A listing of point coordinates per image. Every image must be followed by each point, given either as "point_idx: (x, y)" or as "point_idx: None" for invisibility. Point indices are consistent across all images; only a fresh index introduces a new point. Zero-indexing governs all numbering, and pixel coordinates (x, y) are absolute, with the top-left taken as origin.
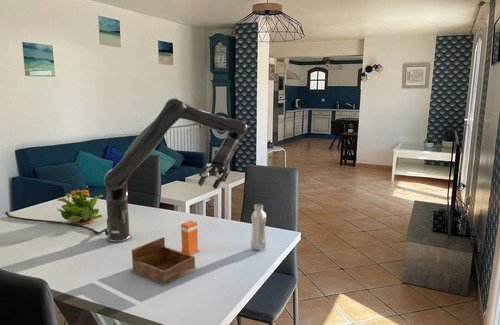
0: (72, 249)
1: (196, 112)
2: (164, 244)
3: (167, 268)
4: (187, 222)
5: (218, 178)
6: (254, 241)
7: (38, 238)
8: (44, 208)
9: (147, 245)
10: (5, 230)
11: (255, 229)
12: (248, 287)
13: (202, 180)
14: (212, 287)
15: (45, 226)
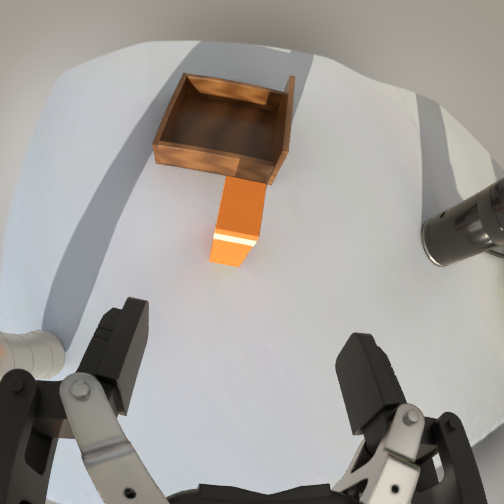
0: (443, 166)
1: None
2: (276, 161)
3: (218, 137)
4: (254, 210)
5: (75, 385)
6: (38, 332)
7: None
8: None
9: (286, 105)
10: None
11: (13, 334)
12: (28, 152)
13: (362, 388)
14: (89, 121)
15: None
